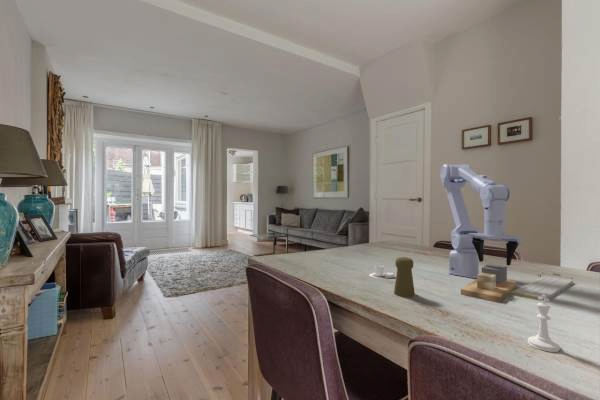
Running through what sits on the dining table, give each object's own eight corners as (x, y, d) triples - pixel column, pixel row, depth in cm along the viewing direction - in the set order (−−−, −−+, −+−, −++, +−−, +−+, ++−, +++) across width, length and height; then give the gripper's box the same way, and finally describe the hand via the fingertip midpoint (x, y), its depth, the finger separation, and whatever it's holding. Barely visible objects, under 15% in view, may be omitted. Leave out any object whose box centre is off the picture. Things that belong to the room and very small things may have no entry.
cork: (389, 292, 91) (389, 256, 91) (404, 289, 94) (404, 255, 94) (403, 298, 86) (403, 260, 86) (419, 295, 88) (419, 258, 88)
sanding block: (481, 283, 95) (481, 267, 95) (489, 277, 102) (489, 263, 102) (499, 286, 92) (499, 270, 92) (506, 280, 98) (506, 265, 98)
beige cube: (477, 287, 90) (477, 274, 90) (481, 285, 93) (481, 272, 93) (492, 290, 88) (492, 277, 88) (495, 287, 90) (495, 274, 90)
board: (460, 294, 89) (460, 289, 89) (482, 280, 104) (482, 275, 104) (499, 302, 82) (499, 297, 82) (516, 286, 97) (516, 281, 97)
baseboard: (504, 294, 91) (545, 303, 83) (504, 285, 91) (545, 293, 83) (536, 278, 109) (573, 284, 101) (536, 270, 109) (573, 276, 101)
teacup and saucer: (397, 278, 109) (397, 267, 109) (383, 281, 104) (383, 270, 104) (378, 273, 116) (378, 262, 116) (364, 276, 111) (364, 265, 111)
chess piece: (550, 354, 55) (551, 300, 55) (522, 342, 59) (522, 292, 59) (565, 348, 57) (565, 297, 57) (536, 337, 61) (536, 289, 61)
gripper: (466, 220, 99) (466, 261, 99) (519, 223, 88) (519, 268, 89) (472, 219, 104) (472, 258, 104) (523, 222, 93) (523, 265, 93)
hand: (494, 263), depth 97 cm, fingers open, 7 cm apart
